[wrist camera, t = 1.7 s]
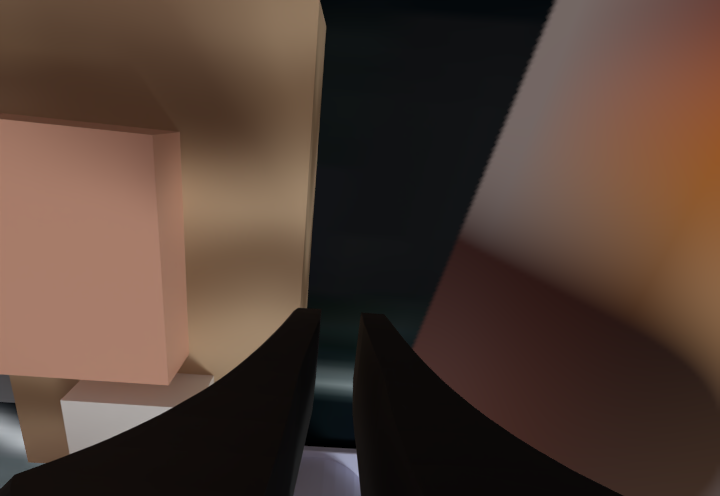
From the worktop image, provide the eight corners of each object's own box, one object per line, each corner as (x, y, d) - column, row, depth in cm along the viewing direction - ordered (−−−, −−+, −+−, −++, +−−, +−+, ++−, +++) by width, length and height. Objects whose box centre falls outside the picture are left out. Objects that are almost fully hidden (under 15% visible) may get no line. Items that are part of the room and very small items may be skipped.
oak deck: (299, 415, 23) (289, 475, 19) (83, 401, 22) (28, 462, 18) (326, 26, 16) (319, -1, 12) (21, -13, 15) (-86, -54, 12)
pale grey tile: (215, 464, 18) (200, 504, 16) (105, 458, 18) (77, 498, 16) (213, 375, 17) (196, 408, 15) (93, 367, 16) (60, 400, 15)
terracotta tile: (189, 353, 16) (168, 385, 14) (40, 343, 16) (-2, 374, 14) (179, 131, 13) (152, 134, 12) (-3, 112, 13) (-62, 112, 11)
